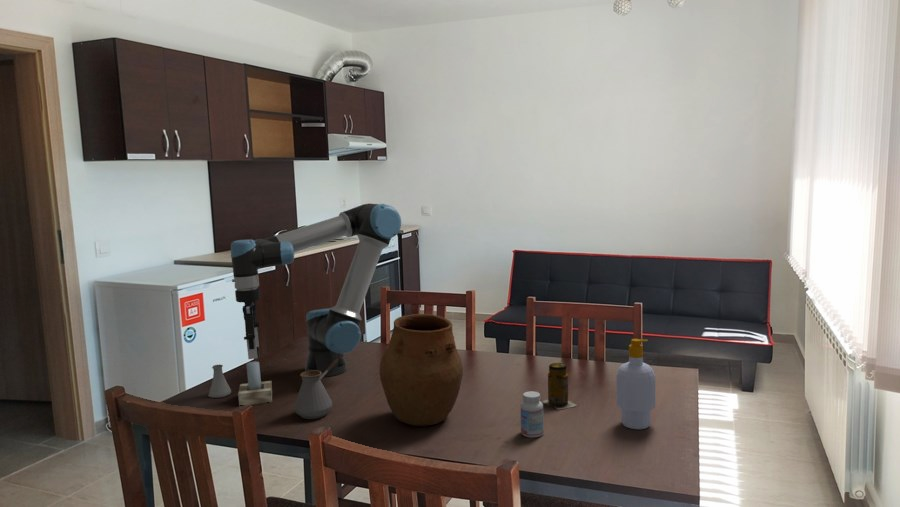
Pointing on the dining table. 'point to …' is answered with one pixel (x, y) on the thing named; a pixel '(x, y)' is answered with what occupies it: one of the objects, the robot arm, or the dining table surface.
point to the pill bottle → (532, 415)
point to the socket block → (255, 394)
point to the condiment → (558, 387)
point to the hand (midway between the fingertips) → (253, 352)
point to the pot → (421, 369)
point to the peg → (253, 376)
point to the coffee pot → (314, 394)
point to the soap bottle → (636, 388)
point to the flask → (219, 383)
